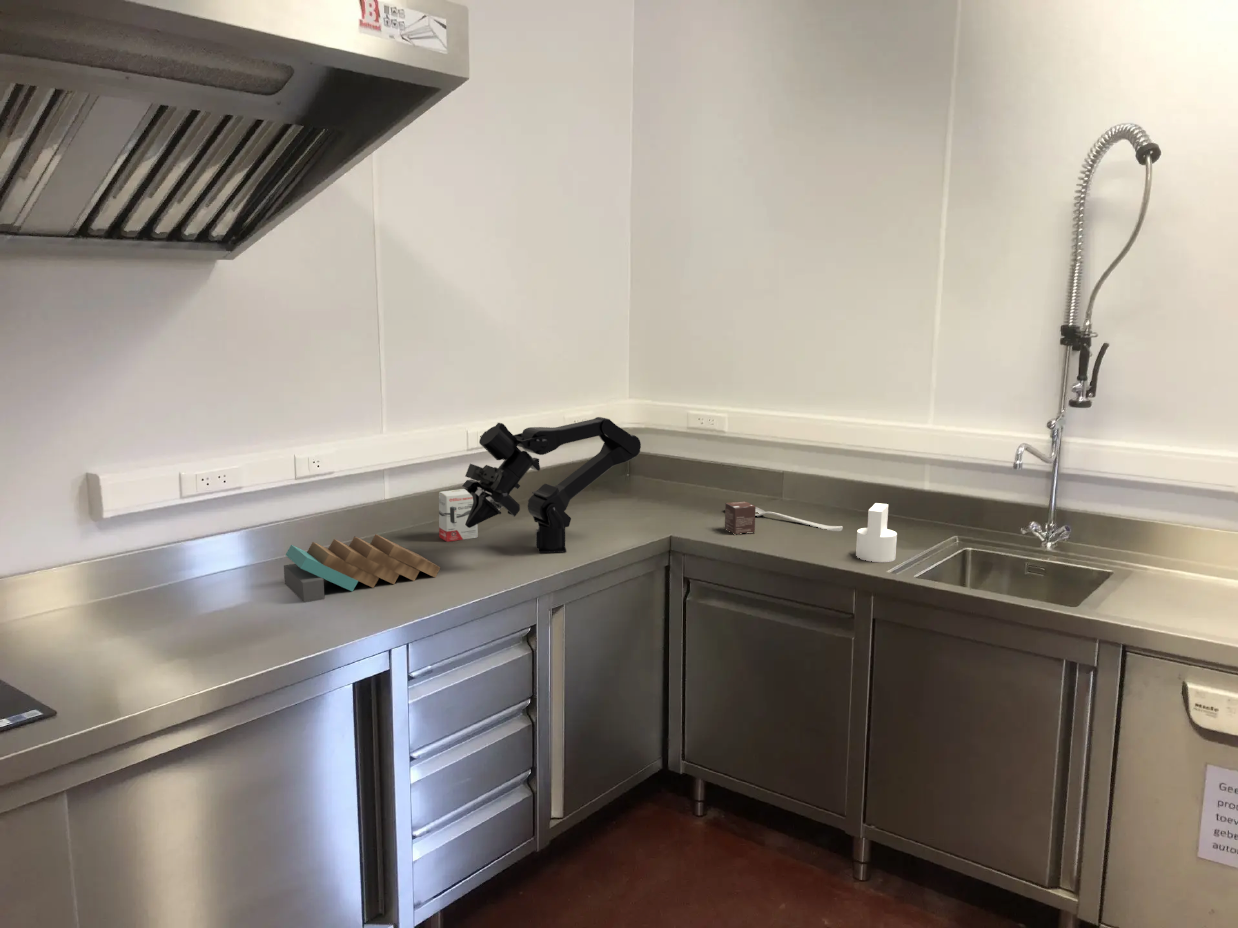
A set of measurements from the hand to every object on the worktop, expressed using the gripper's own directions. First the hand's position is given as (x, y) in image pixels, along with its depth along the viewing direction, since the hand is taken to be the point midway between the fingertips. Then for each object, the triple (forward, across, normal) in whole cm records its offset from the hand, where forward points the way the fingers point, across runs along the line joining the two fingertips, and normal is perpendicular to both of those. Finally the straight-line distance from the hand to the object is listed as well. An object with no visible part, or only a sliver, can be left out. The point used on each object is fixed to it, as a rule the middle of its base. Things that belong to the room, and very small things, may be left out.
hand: (467, 526), depth 203 cm
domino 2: (+22, 0, -11) cm, 24 cm away
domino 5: (+12, 0, -1) cm, 12 cm away
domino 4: (+16, 0, -5) cm, 16 cm away
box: (-44, +11, +57) cm, 73 cm away
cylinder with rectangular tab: (-52, +46, +65) cm, 95 cm away
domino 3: (+19, 0, -8) cm, 20 cm away
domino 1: (+25, 0, -14) cm, 29 cm away
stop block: (+32, 0, -20) cm, 37 cm away
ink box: (+1, -22, +12) cm, 25 cm away
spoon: (-57, +8, +71) cm, 91 cm away
